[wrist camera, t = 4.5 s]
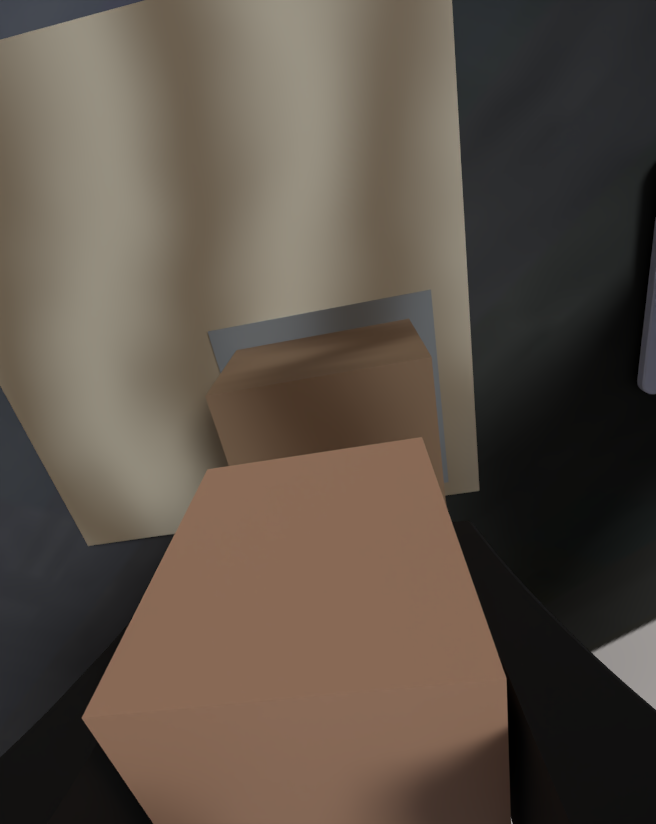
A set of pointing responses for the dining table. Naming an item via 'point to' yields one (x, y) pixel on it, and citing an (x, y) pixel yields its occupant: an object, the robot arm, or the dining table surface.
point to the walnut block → (327, 395)
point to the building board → (219, 226)
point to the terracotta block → (311, 655)
